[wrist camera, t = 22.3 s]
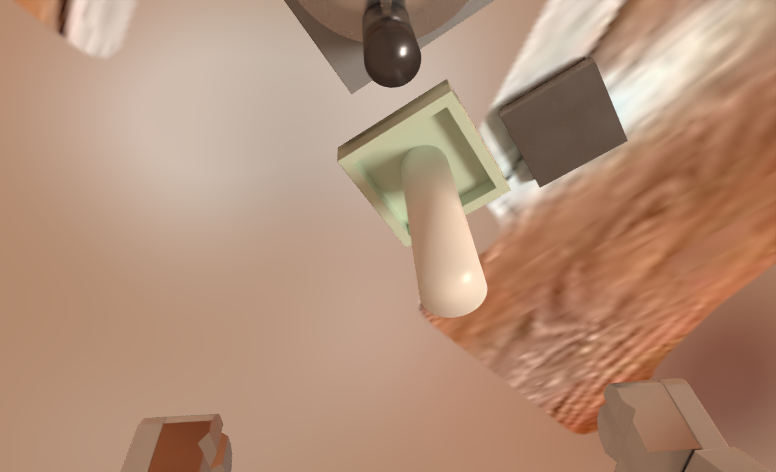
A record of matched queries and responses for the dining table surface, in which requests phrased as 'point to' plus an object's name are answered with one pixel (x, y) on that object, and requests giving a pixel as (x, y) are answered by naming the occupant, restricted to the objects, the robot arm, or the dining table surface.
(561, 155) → the socket plate
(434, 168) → the pin
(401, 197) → the tray
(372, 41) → the crank
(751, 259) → the dining table surface
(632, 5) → the dining table surface
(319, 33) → the crank base
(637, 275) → the dining table surface
